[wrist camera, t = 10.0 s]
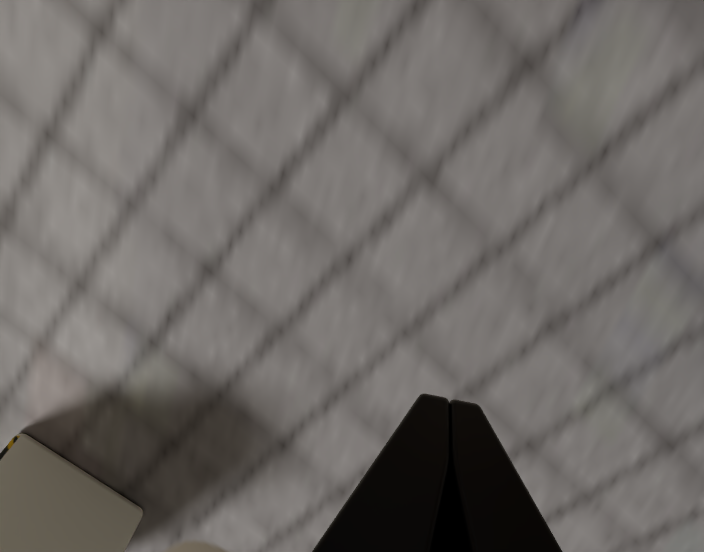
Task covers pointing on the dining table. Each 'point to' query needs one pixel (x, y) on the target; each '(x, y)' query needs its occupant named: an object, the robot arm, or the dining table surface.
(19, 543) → the medicine bottle
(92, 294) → the dining table surface
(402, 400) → the dining table surface
